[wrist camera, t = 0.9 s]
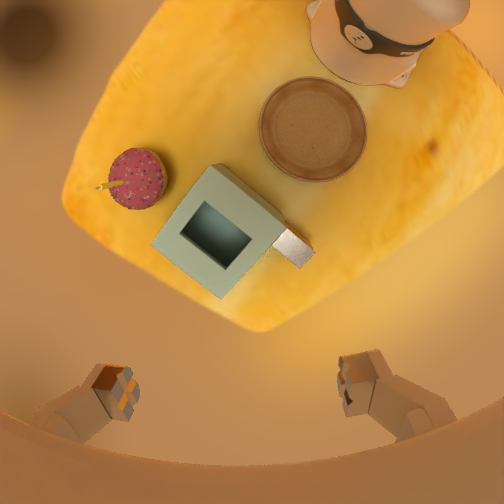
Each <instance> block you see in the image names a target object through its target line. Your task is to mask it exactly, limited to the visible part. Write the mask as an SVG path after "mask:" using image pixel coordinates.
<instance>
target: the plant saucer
mask: <svg viewBox="0 0 504 504" xmlns="http://www.w3.org/2000/svg"><path fill="white" fill-rule="evenodd" d="M259 131H260V137H261V141H262V144H263V146H264V149H265V151H266V153H267V154H268V156H269V157H270V159H271V160H272V161H273V162H274V164H275V165H276V166H277V167H279V168H280V169H281V170H282V171H284V172H285V173H287V174H288V175H290V176H292V177H294V178H297V179H300V180H303V181H309V182H325V181H330V180H334V179H336V178H339V177H340V176H343V175H344V174H346V173H347V172H349V171H350V170H351V169H352V168H353V167H354V166H355V165H356V164H357V162H358V161H359V159H360V158H361V156H362V154H363V152H364V149H365V146H366V141H367V124H366V120H365V116H364V113H363V111H362V109H361V107H360V105H359V104H358V102H357V101H356V99H355V98H354V97H353V96H352V95H351V94H350V93H349V92H348V91H347V90H346V89H345V88H343V87H342V86H340V85H339V84H337V83H335V82H333V81H330V80H328V79H324V78H320V77H300V78H296V79H292V80H290V81H287V82H286V83H284V84H282V85H280V86H279V87H278V88H276V89H275V90H274V91H273V92H272V93H271V94H270V96H269V97H268V98H267V100H266V102H265V103H264V106H263V108H262V111H261V114H260V120H259Z"/></svg>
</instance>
